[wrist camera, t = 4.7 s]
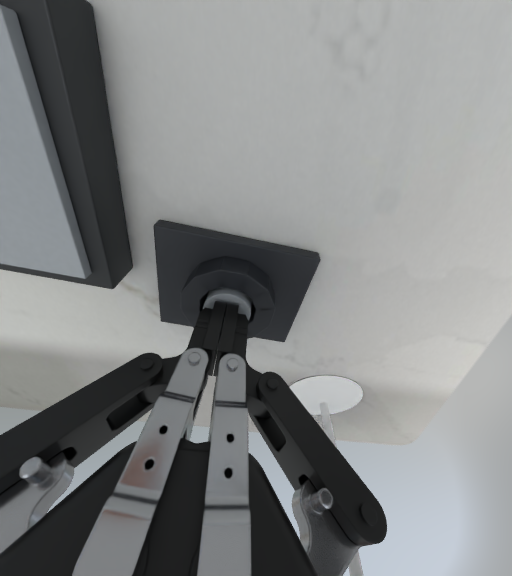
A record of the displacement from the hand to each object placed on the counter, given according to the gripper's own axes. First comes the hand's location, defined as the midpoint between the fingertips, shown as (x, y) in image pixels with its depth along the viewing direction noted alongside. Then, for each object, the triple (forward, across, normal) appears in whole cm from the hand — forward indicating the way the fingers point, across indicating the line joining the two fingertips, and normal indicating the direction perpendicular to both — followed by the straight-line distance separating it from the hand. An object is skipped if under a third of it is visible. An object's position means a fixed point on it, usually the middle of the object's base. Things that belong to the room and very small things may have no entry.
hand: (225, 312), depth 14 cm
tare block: (+3, 0, 0) cm, 3 cm away
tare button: (+2, 0, 0) cm, 2 cm away
